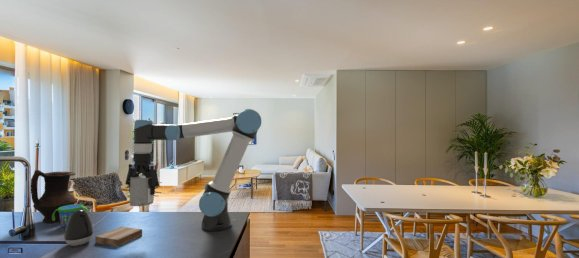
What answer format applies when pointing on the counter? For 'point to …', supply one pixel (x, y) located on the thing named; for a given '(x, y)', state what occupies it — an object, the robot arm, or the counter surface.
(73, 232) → the egg shaped speaker
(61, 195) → the jug
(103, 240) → the pedestal
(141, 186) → the white canister
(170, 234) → the counter surface
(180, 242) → the counter surface
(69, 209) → the snack cup
